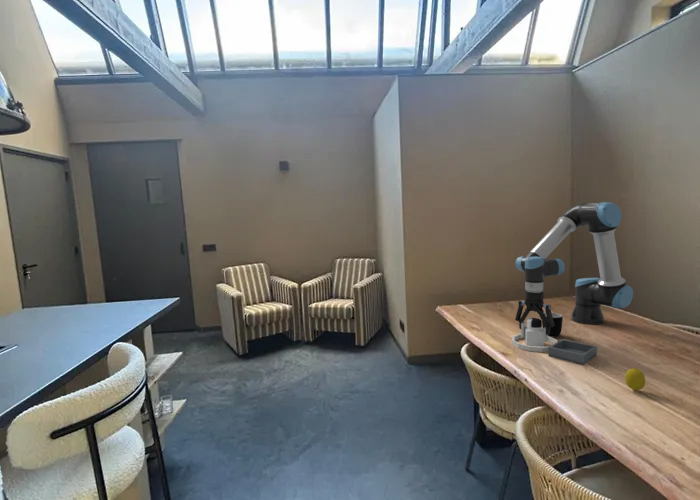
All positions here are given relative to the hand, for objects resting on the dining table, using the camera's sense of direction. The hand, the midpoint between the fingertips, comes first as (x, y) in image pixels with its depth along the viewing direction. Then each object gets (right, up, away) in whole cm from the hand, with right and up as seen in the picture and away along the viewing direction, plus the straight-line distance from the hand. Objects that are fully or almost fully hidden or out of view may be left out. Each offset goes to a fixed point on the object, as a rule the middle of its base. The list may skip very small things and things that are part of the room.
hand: (534, 338), depth 178 cm
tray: (+9, -4, -15) cm, 18 cm away
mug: (+14, -1, +13) cm, 19 cm away
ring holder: (0, -3, 0) cm, 3 cm away
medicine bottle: (0, -3, 0) cm, 3 cm away
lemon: (+12, -7, -47) cm, 49 cm away
